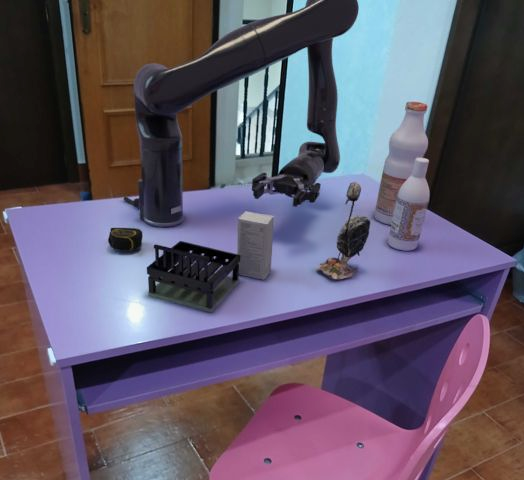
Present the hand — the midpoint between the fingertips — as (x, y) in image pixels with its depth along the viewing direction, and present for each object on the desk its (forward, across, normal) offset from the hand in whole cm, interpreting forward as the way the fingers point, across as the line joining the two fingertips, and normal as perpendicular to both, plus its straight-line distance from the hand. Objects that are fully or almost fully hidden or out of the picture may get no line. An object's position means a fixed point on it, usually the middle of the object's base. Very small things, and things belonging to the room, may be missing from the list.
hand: (275, 198), depth 115 cm
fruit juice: (-35, +21, +13) cm, 43 cm away
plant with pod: (0, +16, +13) cm, 20 cm away
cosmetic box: (+10, 0, +13) cm, 16 cm away
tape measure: (+12, -29, +13) cm, 34 cm away
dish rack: (+22, -8, +12) cm, 26 cm away
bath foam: (-20, +26, +13) cm, 35 cm away
